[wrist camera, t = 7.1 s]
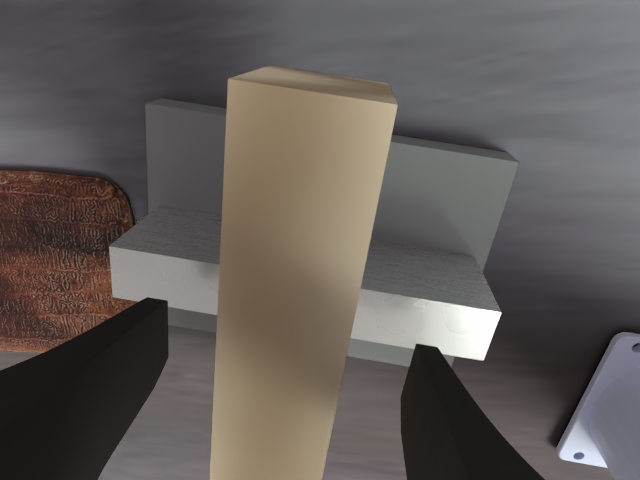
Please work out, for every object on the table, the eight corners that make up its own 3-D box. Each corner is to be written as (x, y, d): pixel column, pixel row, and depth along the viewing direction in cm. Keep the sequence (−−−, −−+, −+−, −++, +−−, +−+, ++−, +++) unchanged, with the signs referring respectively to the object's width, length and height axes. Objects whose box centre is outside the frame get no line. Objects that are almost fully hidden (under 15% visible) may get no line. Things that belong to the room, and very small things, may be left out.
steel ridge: (474, 256, 18) (501, 312, 14) (461, 298, 19) (483, 360, 15) (159, 204, 18) (108, 246, 15) (160, 247, 19) (112, 297, 16)
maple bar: (388, 83, 12) (398, 105, 8) (312, 484, 19) (298, 592, 15) (270, 65, 12) (228, 78, 8) (237, 470, 19) (205, 574, 15)
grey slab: (507, 152, 18) (519, 162, 16) (444, 352, 22) (448, 373, 21) (161, 98, 18) (145, 103, 17) (164, 304, 22) (151, 321, 21)
